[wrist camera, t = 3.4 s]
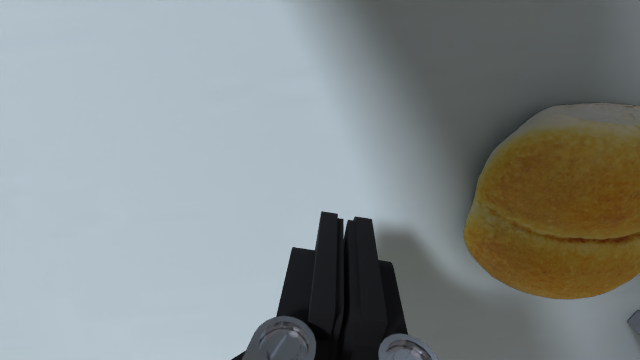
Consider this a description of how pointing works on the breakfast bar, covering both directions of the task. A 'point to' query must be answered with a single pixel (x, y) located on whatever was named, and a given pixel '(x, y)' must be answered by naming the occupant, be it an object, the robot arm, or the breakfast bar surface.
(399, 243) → the breakfast bar surface
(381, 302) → the robot arm
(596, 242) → the bread roll
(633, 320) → the box
